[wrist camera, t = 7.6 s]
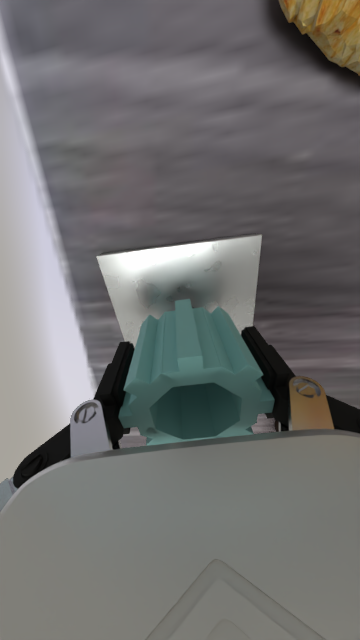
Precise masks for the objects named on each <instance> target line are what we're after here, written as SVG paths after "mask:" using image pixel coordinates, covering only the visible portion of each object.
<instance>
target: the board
mask: <svg viewBox="0 0 360 640" xmlns="http://www.w3.org/2000/svg"><path fill="white" fill-rule="evenodd" d="M261 240H262V235H260V234H248V235H240V236H232V237H225V238H217V239H209V240H202V241H194V242H186V243H178V244H171V245H163V246H155V247H148V248H140V249H132V250H124V251H117V252H109V253H102V254H100V255H98V256H96V257H97V260H98V263H99V266H100V269H101V272H102V275H103V278H104V280H105V283H106V286H107V289H108V292H109V295H110V298H111V301H112V304H113V307H114V310H115V313H116V316H117V319H118V322H119V325H120V328H121V331H122V334H123V337H124V340H125V342H126V341H129V342H130V343H133V345H134V348H135V346H136V343H137V339H138V336H139V332H140V328H141V325H142V323H143V322H144V321H145V319H146V318H147V317H148V316H149V314H150V315H151V316H153V317H155V318H156V319H159V318H160V317H161V316H162V315H163V313H164V312H167V311H175V301H177V300H185V299H190V301H191V306H192V308H200V307H203V308H204V309H206V310H207V311H208V312H210V313H212V312H213V311H214V310H215V309H216V308H217V307H218V306H219V307H220V308H222V309H223V310H224V311H225V312H227V313H228V314H229V316H230V317H231V319H232V321H233V323H234V324H235V326H236V328H237V330H238V331H239V333H240V335H241V331H242V330H244V328H245V327H251V326H253V317H254V308H255V298H256V288H257V279H258V269H259V259H260V250H261Z"/></svg>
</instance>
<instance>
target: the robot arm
mask: <svg viewBox="0 0 360 640" xmlns="http://www.w3.org/2000/svg"><path fill="white" fill-rule="evenodd" d="M241 337H242V338H243V340H244V342H245V344H246V345H247V347H248V349H249V350H250V352H251V354H252V356H253V357H254V359H255V361H256V363H257V364H258V366H259V368H260V370H261V371H262V373H263V375H262V376H261V378H262V380H263V382H264V384H265V386H266V387H267V389H268V390H270V392H271V394H272V396H273V398H274V399H275V402H274V406H273V410H272V413H265V414H266V416H267V418H275V420H276V421H278V422H279V432H271V433H261V434H251V435H241V436H232V437H222V438H213V439H203V440H194V441H185V442H176V443H167V444H158V445H149V446H140V447H132V448H123V449H122V447H121V443H120V439H121V438H122V437H123V434H129V433H130V428H123V426H122V424H121V421H120V419H119V417H118V416H119V412H120V409H121V406H123V403H124V399H125V395H126V391H124V386H125V383H126V379H127V375H128V372H129V368H130V365H131V361H132V357H133V354H134V350H135V348H134V345H133V343H130V342H129V341H126V342H120V343H119V346H118V348H117V351H116V353H115V356H114V358H113V361H112V363H111V364H108V366H107V368H106V370H105V373H104V375H103V378H102V380H101V382H100V385H99V387H98V389H97V392H96V394H95V397H94V399H93V400H88V401H86V402H84V403H82V404H80V405H79V406H78V407H77V408H76V409H75V410H74V412H73V413H72V415H71V419H70V424H69V425H68V426H66V427H65V428H64V429H62V430H61V431H60V432H58V433H57V434H56V435H54V436H53V437H52V438H50V439H49V440H48V441H46V442H45V443H44V444H42V445H41V446H40V447H38V448H37V449H36V450H34V452H32V453H31V454H29V455H28V456H27V457H26V458H25V459H24V460H23V461H22V462H21V463H20V465H19V466H18V468H17V469H16V471H15V474H14V476H13V477H12V478H11V479H10V480H9V479H8V478H7V479H5V480H4V481H3V482H2V483H0V640H360V409H357V408H355V407H353V406H350V405H348V404H346V403H343V402H341V401H339V400H336V399H334V398H332V397H329V396H327V395H326V394H325V391H324V389H323V387H322V386H321V385H320V384H319V383H318V382H316V381H315V380H313V379H311V378H308V377H304V376H295V375H294V373H293V372H292V371H291V370H290V368H289V367H288V366H287V364H286V363H285V362H284V360H283V359H282V358H281V357H280V355H279V354H278V353H277V351H276V350H275V349H274V348H273V346H272V345H268V344H267V343H266V341H265V340H264V339H263V337H262V336H261V335H260V333H259V332H258V331H257V329H256V328H255V327H254V326H251V327H245V328H244V330H242V331H241Z"/></svg>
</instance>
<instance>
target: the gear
mask: <svg viewBox="0 0 360 640" xmlns="http://www.w3.org/2000/svg"><path fill="white" fill-rule="evenodd" d="M262 375H263V373H262V371H261V370H260V368H259V366H258V364H257V363H256V361H255V359H254V357H253V356H252V354H251V352H250V350H249V349H248V347H247V345H246V344H245V342H244V340H243V338H242V337H241V335H240V333H239V331H238V330H237V328H236V326H235V324H234V323H233V321H232V319H231V317H230V316H229V314H228V313H227V312H225V311H224V310H223V309H222V308H220V307H219V306H218V307H217V308H216V309H215V310H214V311H213V312H212V313H210V312H208V311H207V310H206V309H204V308H203V307H200V308H192V306H191V301H190V299H185V300H177V301H175V311H167V312H164V313H163V315H162V316H161V317H160V318H159V319H156V318H155V317H153V316H151V315H150V314H149V316H148V317H147V318H146V319H145V321H144V322H143V323H142V325H141V328H140V332H139V336H138V339H137V343H136V346H135V350H134V354H133V357H132V361H131V365H130V368H129V372H128V375H127V379H126V383H125V386H124V391H126V395H125V399H124V403H123V406H121V409H120V412H119V416H118V417H119V419H120V421H121V424H122V426H123V428H131V427H138V429H139V432H140V435H142V436H145V437H147V440H146V445H148V446H149V445H158V444H167V443H176V442H185V441H194V440H203V439H213V438H222V437H232V436H241V435H251V434H254V433H253V431H252V428H251V426H252V425H253V424H255V423H257V416H258V414H262V413H272V410H273V406H274V402H275V399H274V398H273V396H272V394H271V392H270V390H268V389H267V387H266V386H265V384H264V382H263V380H262V378H261V376H262Z"/></svg>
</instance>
